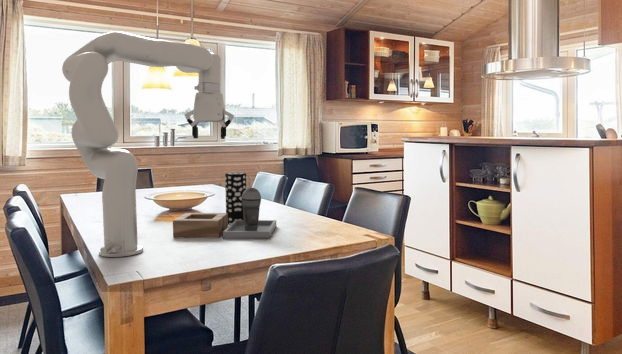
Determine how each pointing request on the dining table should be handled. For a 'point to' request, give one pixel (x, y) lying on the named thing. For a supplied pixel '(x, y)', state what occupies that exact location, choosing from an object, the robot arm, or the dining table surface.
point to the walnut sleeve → (200, 225)
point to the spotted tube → (234, 195)
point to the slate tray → (238, 231)
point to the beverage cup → (251, 208)
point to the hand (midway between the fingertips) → (209, 138)
